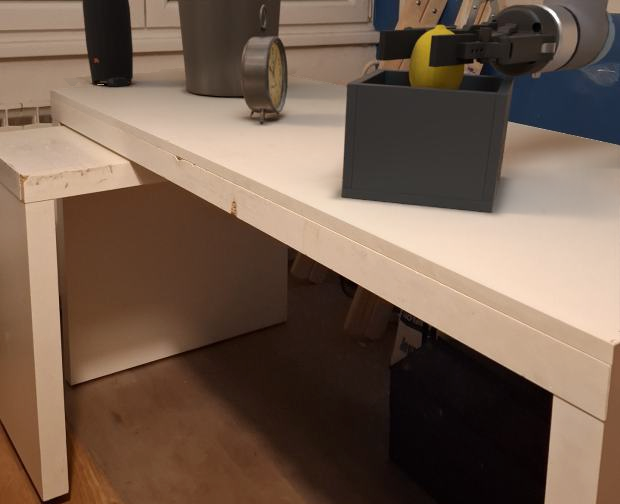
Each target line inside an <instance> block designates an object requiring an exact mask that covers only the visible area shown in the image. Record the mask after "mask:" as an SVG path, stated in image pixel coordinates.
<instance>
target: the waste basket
mask: <svg viewBox="0 0 620 504" xmlns="http://www.w3.org/2000/svg"><path fill="white" fill-rule="evenodd" d="M281 2H282V0H177V7H178V15H179V16H178V17H179V25H180V35H181V36H180V37H181V45H182V55H183V63H184V64H183V65H184V75H185V85H186V91H187V92H188V93H191V94H196V95H203V96H212V97H213V96H214V97H215V96H216V97H244V96H243V92H242V86H241V80H240V77H241V59H242V54H243V50H244V47H245V45H246V43H247V42H248V40H249V39H251V38H252V37H260V36H261V30H260V10H261V7H262V5H265V7H266V13H267V19H266V35H267V37H271V36H277V37H279V34H280V19H281ZM261 21H262V25H264V21H265V13H264V7H263V10H262V18H261Z"/></svg>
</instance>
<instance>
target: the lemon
mask: <svg viewBox="0 0 620 504" xmlns="http://www.w3.org/2000/svg"><path fill="white" fill-rule="evenodd" d="M435 27H436V28H435V29H432V30H430V31H428V32H426V33H425V34H423V35H422V36H421V37H420V38H419V39H418V41H417V42H416V44H415V46H414V49H413V51H412V55H411V59H409V65H408V71H409V78H410V83H411V86H412V87H425V88H440V89H455V90H458V88H459V86H460V84H461V82H462V79H463V75H464V74H465V68H466V67H465V65H466V64H463V65H453V66H443V67H429V57H430V47H431V36H432V35H450V34H454V33H453V32H451V31H449V30H447V29H446V26H445V25H444V24H437V25H436V26H435Z"/></svg>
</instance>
